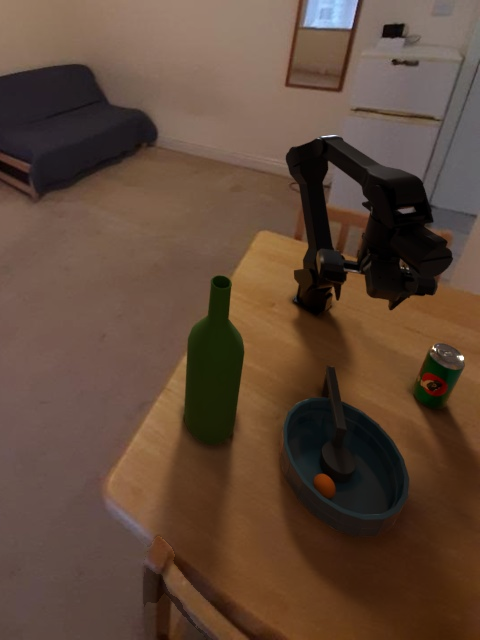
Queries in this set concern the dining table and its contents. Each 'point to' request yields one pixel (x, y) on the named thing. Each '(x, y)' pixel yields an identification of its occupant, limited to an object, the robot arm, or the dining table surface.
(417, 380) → the soda can
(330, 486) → the orange ball
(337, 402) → the ladle
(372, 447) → the bowl
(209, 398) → the wine bottle
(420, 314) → the dining table surface
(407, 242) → the robot arm
